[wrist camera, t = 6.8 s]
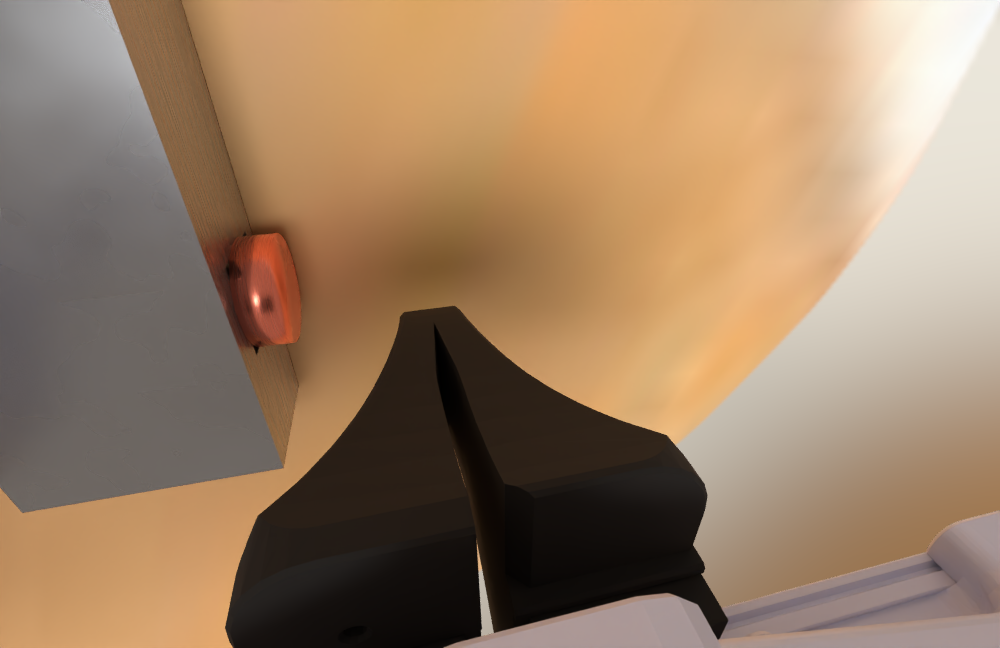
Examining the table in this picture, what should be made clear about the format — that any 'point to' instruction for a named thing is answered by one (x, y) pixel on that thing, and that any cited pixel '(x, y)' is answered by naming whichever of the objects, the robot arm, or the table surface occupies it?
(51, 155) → the block
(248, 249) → the pin
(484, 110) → the table surface
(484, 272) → the table surface
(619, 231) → the table surface
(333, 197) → the table surface
